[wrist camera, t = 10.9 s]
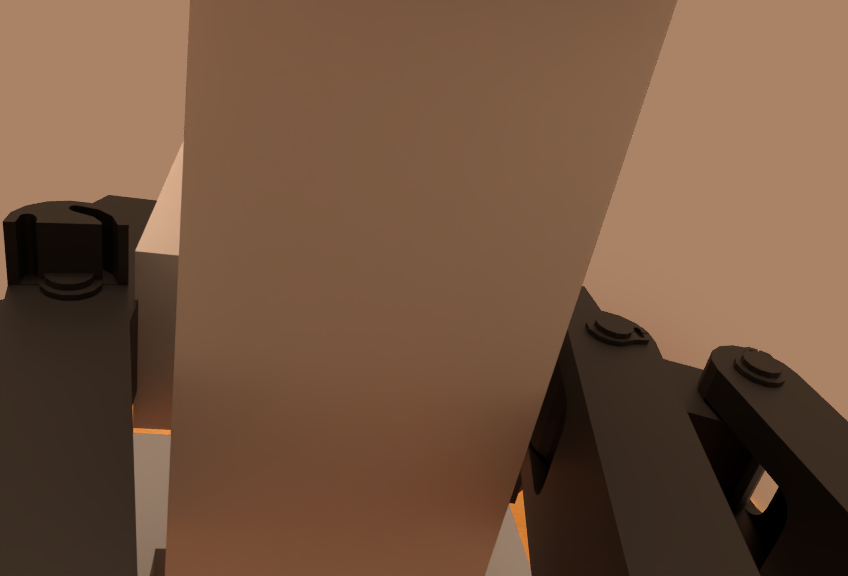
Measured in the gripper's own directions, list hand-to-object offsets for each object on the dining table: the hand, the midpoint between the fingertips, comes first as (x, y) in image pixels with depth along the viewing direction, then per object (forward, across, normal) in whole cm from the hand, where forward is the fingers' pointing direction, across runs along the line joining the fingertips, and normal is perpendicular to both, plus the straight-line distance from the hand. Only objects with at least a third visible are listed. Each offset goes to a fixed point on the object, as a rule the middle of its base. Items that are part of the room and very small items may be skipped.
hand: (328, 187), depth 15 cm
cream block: (-5, 0, -8) cm, 9 cm away
